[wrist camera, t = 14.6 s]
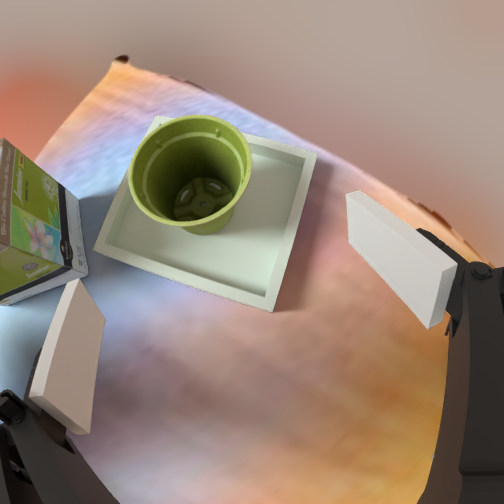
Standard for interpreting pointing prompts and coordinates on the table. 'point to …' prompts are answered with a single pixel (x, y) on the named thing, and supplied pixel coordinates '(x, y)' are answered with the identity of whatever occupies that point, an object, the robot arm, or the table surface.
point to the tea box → (36, 229)
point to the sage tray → (229, 237)
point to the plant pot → (191, 173)
